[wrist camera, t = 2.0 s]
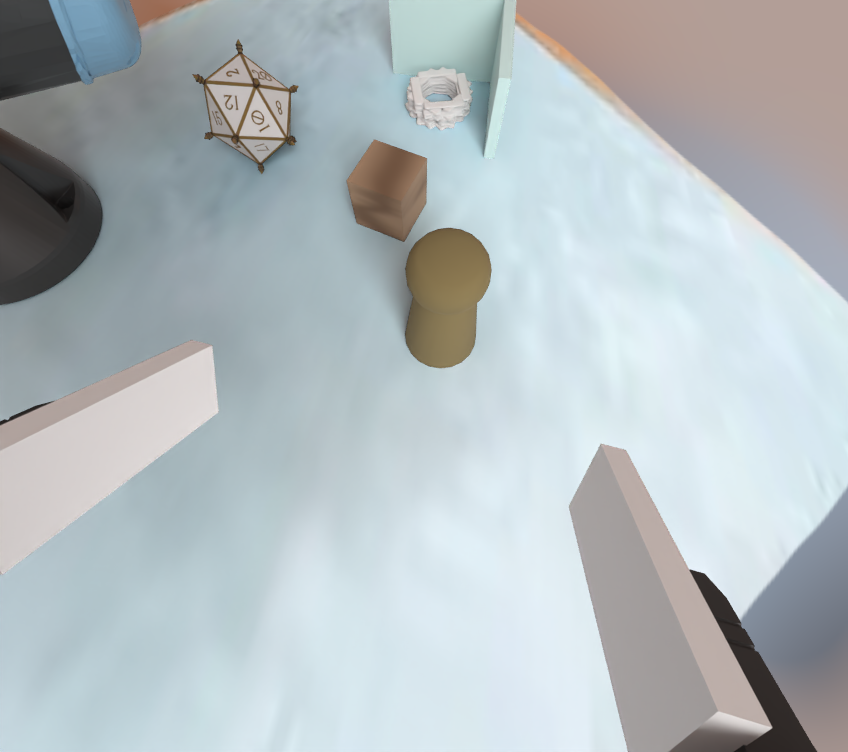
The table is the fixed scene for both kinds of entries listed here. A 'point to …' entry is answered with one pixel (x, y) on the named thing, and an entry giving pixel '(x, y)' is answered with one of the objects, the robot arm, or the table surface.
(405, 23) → the l-shaped corner panel
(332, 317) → the table surface
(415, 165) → the walnut block
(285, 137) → the game die
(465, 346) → the cork
